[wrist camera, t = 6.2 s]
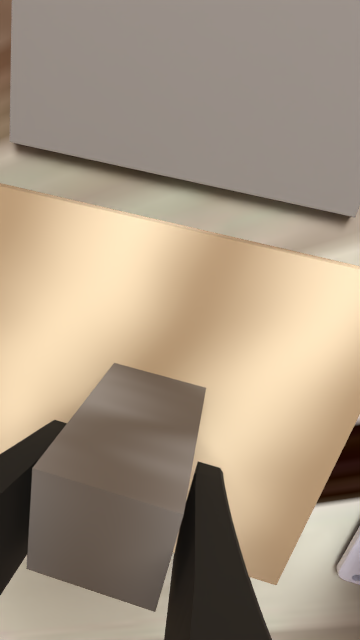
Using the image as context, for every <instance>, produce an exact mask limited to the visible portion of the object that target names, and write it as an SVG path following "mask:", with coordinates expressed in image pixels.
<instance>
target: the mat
mask: <svg viewBox="0 0 360 640" xmlns="http://www.w3.org/2000/svg"><path fill="white" fill-rule="evenodd" d="M10 142H12V143H16V144H20V145H25V146H29V147H34V148H38V149H43V150H48V151H52V152H57V153H61V154H66V155H71V156H75V157H80V158H84V159H89V160H93V161H98V162H103V163H107V164H112V165H116V166H121V167H126V168H130V169H135V170H139V171H144V172H149V173H153V174H158V175H162V176H167V177H171V178H176V179H181V180H185V181H190V182H194V183H199V184H204V185H208V186H213V187H217V188H222V189H227V190H231V191H236V192H240V193H245V194H249V195H254V196H259V197H263V198H268V199H272V200H277V201H282V202H286V203H291V204H295V205H300V206H305V207H309V208H314V209H318V210H323V211H327V212H332V213H337V214H341V215H346V216H350V217H356V214H357V211H358V209H359V206H360V0H12V31H11V93H10Z"/></svg>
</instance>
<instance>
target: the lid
mask: <svg viewBox="0 0 360 640" xmlns="http://www.w3.org/2000/svg"><path fill="white" fill-rule="evenodd" d="M359 414H360V266H356V265H352V264H347V263H343V262H339V261H334V260H330V259H326V258H321V257H317V256H313V255H308V254H304V253H300V252H295V251H291V250H287V249H282V248H278V247H274V246H270V245H265V244H261V243H257V242H252V241H248V240H244V239H239V238H235V237H231V236H226V235H222V234H218V233H213V232H209V231H205V230H200V229H196V228H192V227H187V226H183V225H179V224H174V223H170V222H166V221H161V220H157V219H153V218H148V217H144V216H140V215H135V214H131V213H127V212H122V211H118V210H114V209H109V208H105V207H101V206H96V205H92V204H88V203H83V202H79V201H75V200H70V199H66V198H62V197H57V196H53V195H49V194H45V193H40V192H36V191H32V190H27V189H23V188H19V187H14V186H10V185H6V184H0V454H1V453H3V452H4V451H6V450H7V449H9V448H11V447H12V446H14V445H15V444H17V443H18V442H20V441H22V440H23V439H25V438H26V437H28V436H29V435H31V434H32V433H34V432H36V431H37V430H39V429H40V428H42V427H43V426H45V425H46V424H48V423H50V422H51V421H53V420H57V421H61V422H64V423H67V424H66V425H65V427H64V428H63V429H62V431H61V432H60V433H59V434H58V436H57V437H56V438H55V440H54V441H53V442H52V443H51V445H50V446H49V447H48V449H47V450H46V451H45V452H44V454H43V455H42V456H41V458H40V459H39V460H38V461H37V463H36V464H35V465H34V467H33V468H32V484H31V501H30V519H29V536H28V554H27V569H29V570H32V571H35V572H38V573H41V574H44V575H47V576H50V577H53V578H56V579H59V580H62V581H65V582H68V583H71V584H74V585H77V586H80V587H83V588H85V589H88V590H91V591H94V592H97V593H100V594H103V595H106V596H109V597H112V598H115V599H118V600H121V601H124V602H127V603H130V604H133V605H136V606H139V607H142V608H145V609H148V610H151V611H154V612H155V610H156V607H157V604H158V600H159V597H160V593H161V590H162V587H163V583H164V580H165V576H166V573H167V570H168V566H169V563H170V559H171V556H172V552H173V553H175V548H176V543H177V538H178V533H179V529H180V525H181V522H182V518H183V515H184V510H185V504H186V500H187V497H188V494H189V490H190V487H191V483H192V480H193V476H194V473H195V469H196V466H197V462H202V463H205V464H209V465H212V466H216V467H219V468H221V470H222V472H223V476H224V483H225V489H226V494H227V499H228V503H229V508H230V512H231V516H232V520H233V524H234V528H235V531H236V535H237V538H238V542H239V545H240V549H241V552H242V556H243V559H244V562H245V565H246V569H247V572H248V575H249V577H252V578H255V579H258V580H261V581H264V582H268V583H271V584H274V585H277V583H278V580H279V578H280V576H281V574H282V572H283V570H284V568H285V566H286V564H287V562H288V560H289V558H290V556H291V554H292V552H293V550H294V548H295V546H296V544H297V542H298V539H299V537H300V535H301V533H302V531H303V529H304V527H305V525H306V523H307V521H308V519H309V517H310V515H311V513H312V511H313V509H314V507H315V505H316V503H317V501H318V498H319V496H320V494H321V492H322V490H323V488H324V486H325V484H326V482H327V480H328V478H329V476H330V474H331V472H332V470H333V468H334V466H335V464H336V462H337V460H338V457H339V455H340V453H341V451H342V449H343V447H344V445H345V443H346V441H347V439H348V437H349V435H350V433H351V431H352V429H353V427H354V425H355V423H356V421H357V419H358V416H359Z"/></svg>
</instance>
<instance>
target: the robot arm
mask: <svg viewBox="0 0 360 640" xmlns="http://www.w3.org/2000/svg"><path fill="white" fill-rule="evenodd" d="M66 424H67V423H64V422H61V421H57V420H53V421H51V422H50V423H48V424H46V425H45V426H43V427H42V428H40V429H39V430H37V431H36V432H34V433H32V434H31V435H29V436H28V437H26V438H25V439H23V440H22V441H20V442H18V443H17V444H15V445H14V446H12V447H11V448H9V449H7V450H6V451H4V452H3V453H1V454H0V595H1V594H2V592H3V590H4V589H5V587H6V586H7V584H8V583H9V581H10V580H11V578H12V577H13V575H14V573H15V572H16V570H17V569H18V567H19V566H20V564H21V563H22V561H23V560H24V558H25V556H26V555H27V553H28V536H29V519H30V501H31V484H32V468H33V467H34V465H35V464H36V463H37V461H38V460H39V459H40V458H41V456H42V455H43V454H44V452H45V451H46V450H47V449H48V447H49V446H50V445H51V443H52V442H53V441H54V440H55V438H56V437H57V436H58V434H59V433H60V432H61V431H62V429H63V428H64V427H65V425H66ZM337 572H338V575H339V577H340V578H341V579H343V580H345V581H349V582H352V583H355V584H358V585H360V526H359V528H358V530H357V532H356V533H355V535H354V537H353V539H352V540H351V542H350V544H349V546H348V547H347V549H346V551H345V553H344V554H343V556H342V558H341V560H340V561H339V563H338V565H337ZM164 640H272V639H271V636H270V634H269V631H268V628H267V626H266V623H265V621H264V618H263V615H262V612H261V610H260V607H259V604H258V601H257V598H256V595H255V592H254V590H253V587H252V584H251V581H250V578H249V575H248V572H247V569H246V565H245V562H244V559H243V556H242V552H241V549H240V545H239V542H238V538H237V535H236V531H235V528H234V524H233V520H232V516H231V512H230V508H229V503H228V499H227V494H226V489H225V483H224V476H223V472H222V470H221V468H219V467H216V466H212V465H209V464H205V463H202V462H197V466H196V469H195V473H194V476H193V480H192V483H191V487H190V490H189V494H188V497H187V500H186V504H185V510H184V515H183V518H182V522H181V525H180V529H179V533H178V538H177V543H176V548H175V553H174V559H173V568H172V576H171V585H170V594H169V603H168V612H167V620H166V629H165V638H164Z"/></svg>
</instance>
